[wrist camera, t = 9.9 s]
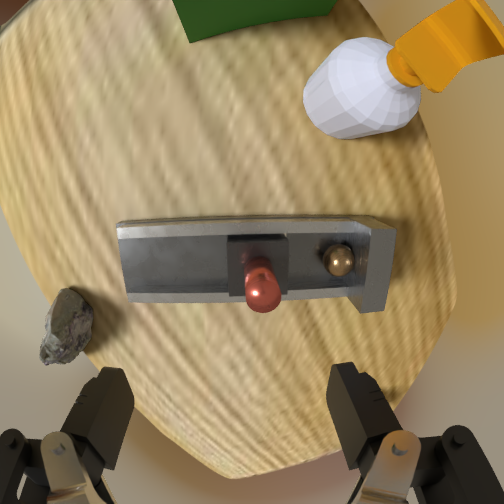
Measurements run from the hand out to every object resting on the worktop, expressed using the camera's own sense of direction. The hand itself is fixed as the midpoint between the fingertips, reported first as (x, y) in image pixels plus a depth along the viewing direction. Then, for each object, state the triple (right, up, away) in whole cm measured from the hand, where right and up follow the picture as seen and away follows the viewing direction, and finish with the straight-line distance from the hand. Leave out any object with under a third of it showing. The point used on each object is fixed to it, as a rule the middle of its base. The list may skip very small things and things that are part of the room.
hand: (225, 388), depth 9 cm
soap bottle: (+11, +22, +18) cm, 31 cm away
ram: (+1, +4, +21) cm, 22 cm away
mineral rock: (-27, -6, +25) cm, 37 cm away
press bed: (0, +5, +23) cm, 23 cm away
